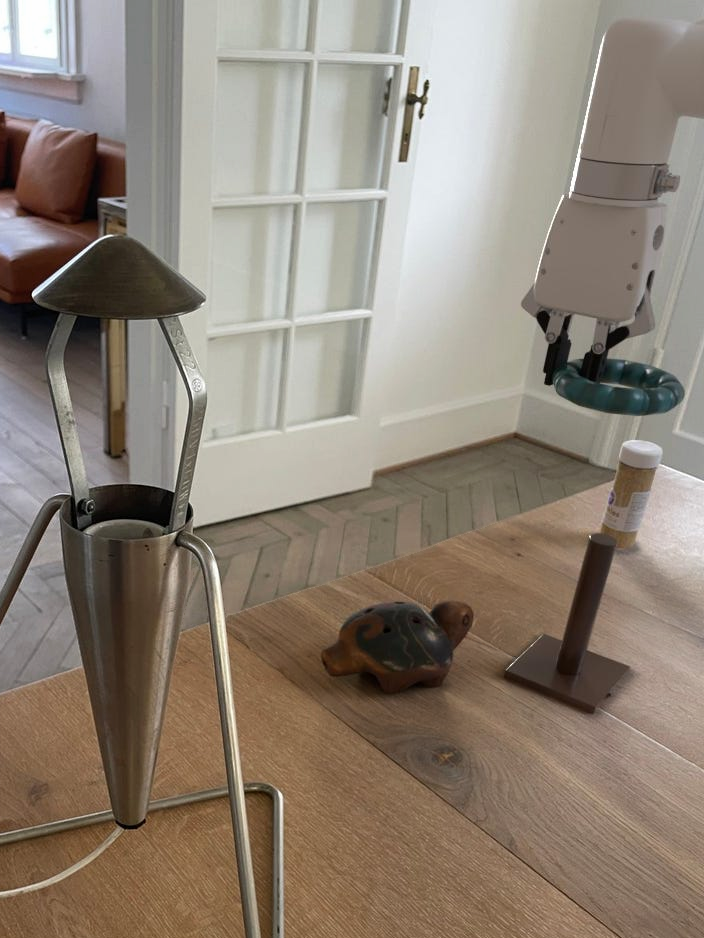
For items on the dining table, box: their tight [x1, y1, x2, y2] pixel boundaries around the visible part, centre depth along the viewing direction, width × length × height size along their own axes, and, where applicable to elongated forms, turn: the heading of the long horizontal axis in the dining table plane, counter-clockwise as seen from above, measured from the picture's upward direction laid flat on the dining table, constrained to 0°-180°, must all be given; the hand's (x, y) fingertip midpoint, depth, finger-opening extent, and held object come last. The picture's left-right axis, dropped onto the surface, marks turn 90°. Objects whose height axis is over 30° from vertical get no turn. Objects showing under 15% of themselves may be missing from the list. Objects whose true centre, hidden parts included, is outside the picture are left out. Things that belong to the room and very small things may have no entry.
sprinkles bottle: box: [599, 439, 664, 549], centre depth 116 cm, size 5×5×13 cm
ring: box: [552, 357, 686, 417], centre depth 93 cm, size 12×12×2 cm
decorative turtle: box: [320, 599, 474, 694], centre depth 92 cm, size 10×15×8 cm, turn 112°
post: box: [503, 532, 631, 715], centre depth 91 cm, size 9×9×16 cm
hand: (569, 384), depth 96 cm, fingers closed on ring, 2 cm apart
